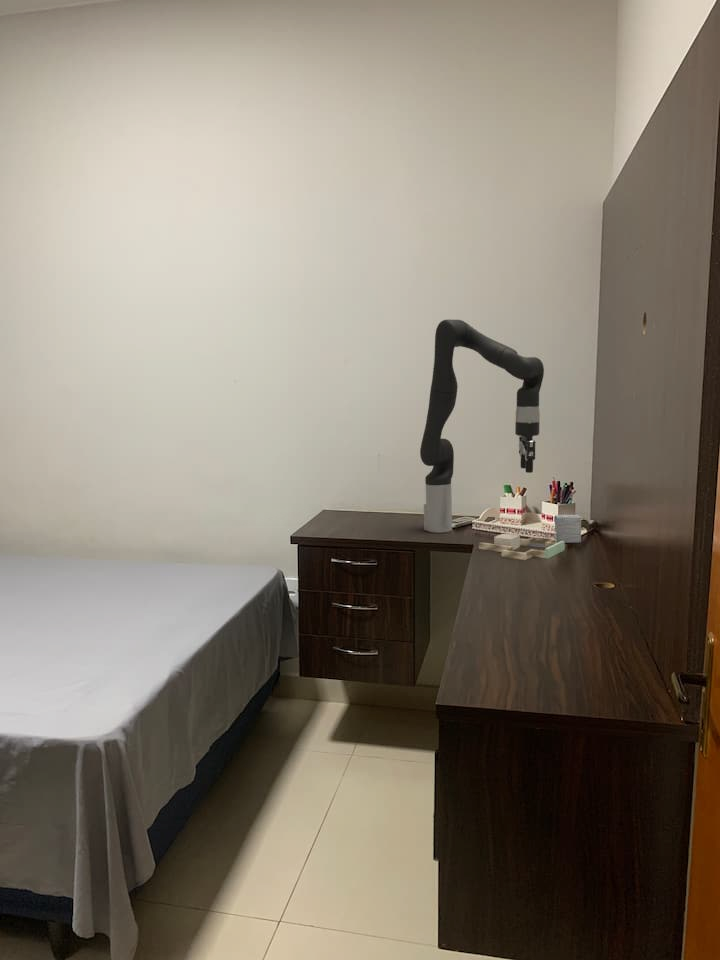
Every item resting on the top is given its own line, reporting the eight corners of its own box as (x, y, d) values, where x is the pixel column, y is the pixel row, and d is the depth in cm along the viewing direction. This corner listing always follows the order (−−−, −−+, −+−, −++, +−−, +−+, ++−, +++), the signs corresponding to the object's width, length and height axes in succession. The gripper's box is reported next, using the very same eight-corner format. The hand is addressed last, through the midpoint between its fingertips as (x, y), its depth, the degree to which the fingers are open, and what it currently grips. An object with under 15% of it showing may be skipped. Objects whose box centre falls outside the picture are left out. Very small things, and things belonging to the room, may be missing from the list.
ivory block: (494, 549, 239) (494, 537, 238) (503, 545, 243) (503, 533, 243) (511, 551, 235) (511, 539, 234) (519, 547, 240) (519, 535, 239)
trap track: (470, 552, 235) (470, 543, 235) (504, 538, 252) (504, 529, 251) (540, 562, 220) (540, 552, 220) (571, 547, 237) (571, 537, 236)
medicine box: (578, 539, 246) (578, 514, 245) (581, 543, 242) (581, 517, 240) (554, 540, 247) (554, 514, 246) (556, 543, 242) (556, 517, 241)
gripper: (511, 418, 243) (511, 467, 246) (519, 422, 229) (518, 474, 232) (534, 418, 243) (533, 466, 246) (544, 422, 229) (542, 473, 232)
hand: (526, 470), depth 239 cm, fingers open, 8 cm apart
